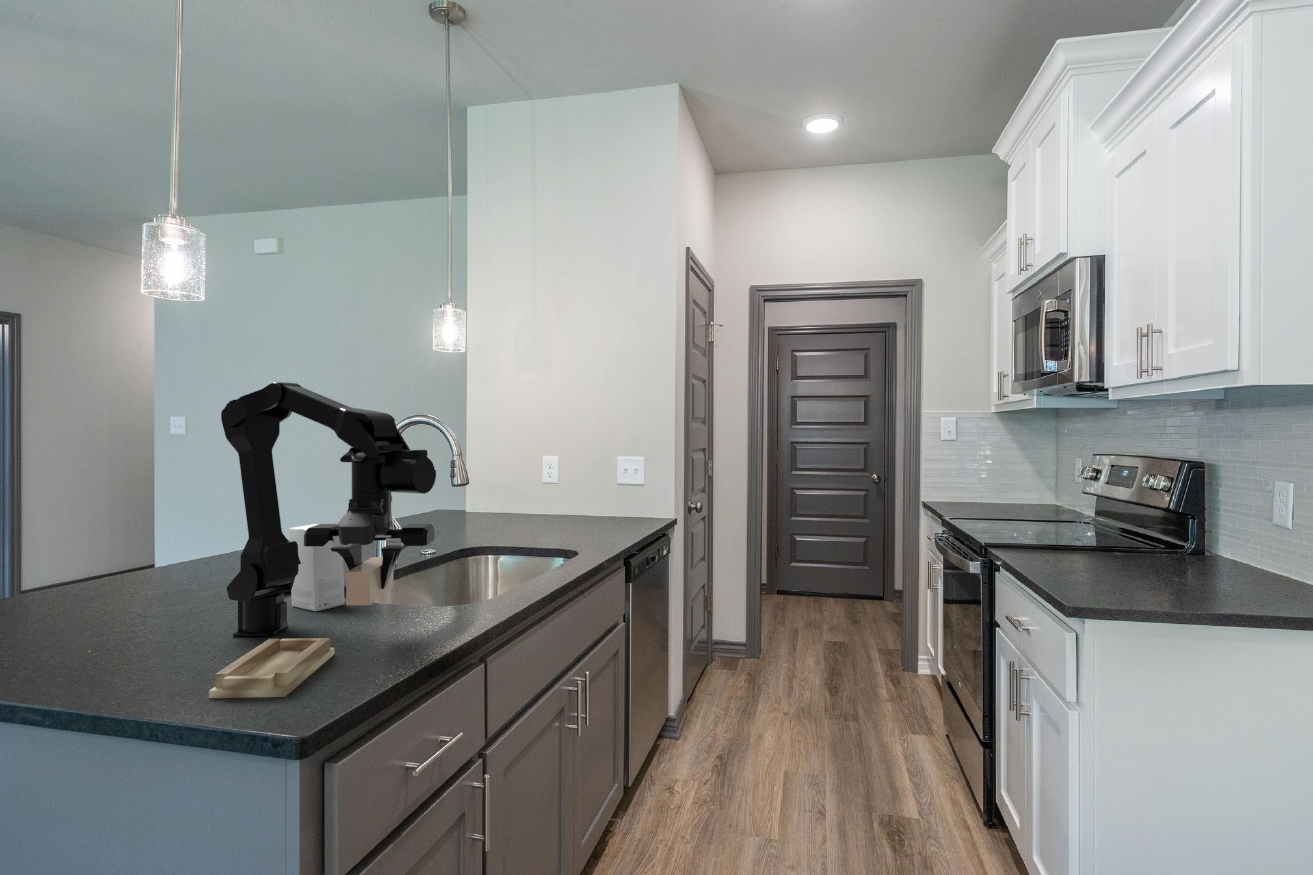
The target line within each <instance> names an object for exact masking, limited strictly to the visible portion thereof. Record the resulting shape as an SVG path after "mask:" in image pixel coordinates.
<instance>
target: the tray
mask: <svg viewBox="0 0 1313 875" xmlns="http://www.w3.org/2000/svg"><path fill="white" fill-rule="evenodd" d="M335 654H336V652H335V647H331V637H320V638H319V637H318V638H317V637H313V638H312V637H311V638H307V637H306V638H305V637H304V638H300V637H299V638H268V639H267V640H265V641H264V642H263V643H261V644H259V645H258V646H256V647H254V648H253V649H251V650H250V651H248V652H246V653H245V654H244V655H242V656H241V657H239V658H238V659H236V660H234V661H233V662H231V663H229V665H226V666H225V667H224V668H222V669H220V670H219V671H218V672H216V673H214V674H215V675H214V681H215V682H214V687H212V688H211V689H209V690H208V698H209V699H228V698H229V699H238V698H239V699H240V698H241V699H242V698H243V699H244V698H245V699H246V698H278V697H279V698H286V697H287V696H288V695H289V694H290V693H291V692H292V691H293V690H295V689H296V688H298V686H300V684H302V683H303V682H304V681H305V680H307V679H308V678H309V677H310V676H312V674H313V673H315V672H316V671H317V670H318V669H319V668H320V667H322V665H324V664H325V663H326V662H327V661H329V659H331V658H332V657H333V656H334V655H335Z"/></svg>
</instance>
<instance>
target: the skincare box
mask: <svg viewBox="0 0 1313 875" xmlns="http://www.w3.org/2000/svg"><path fill="white" fill-rule="evenodd" d="M318 524H319V523H314V524H307V525H302V526H294V527H289V528H288V535H289V537H288V538H289V539H288V540H289V542H292V541H296V542H297V544H298V556H299V559H300V562H301V564H299V565H298V566H299V571H298V575H296V577H295V580H294V583H293V587H292V590H291V591H290V593H291V594H290V595H291V606H292V607H296V608H299V609H303V610H308V611H312V612H319V611H325V610H328V609H332V608H337V607H341V606H343V605H345V603H346V600H345V577H344V575H345V574H344V559H343V558H342V556H341V555H340V554H339V553H337V552H332V551H331V548H332V547H333V541H329V542H328V543H327V544H326V545H325V546H304V534H305V531H306V530H307V529H308V528H310V527H313V526H315V525H318Z"/></svg>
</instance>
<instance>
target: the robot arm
mask: <svg viewBox="0 0 1313 875" xmlns="http://www.w3.org/2000/svg"><path fill="white" fill-rule="evenodd" d="M292 413H295V414H297V415H299V416H301V417H304V418H306V419H308V420H311V421H314V422H315V423H317V424H320V425H322V426H324V427H326V428H329V429H331V430H332V431H333V432H334V433H335V434H336V436H337V438H338V439H340V440H341V441H343V443H345V444H347V446H349V447H350V448H349V450H348V451H347V452H346V453H345V454H343V455H342V456H341V457H340V458H339V460H340V463H351V498H350V499H349V500H348V508H347V511H346V513H344V515H343V516H342V518H341V519H340V520H339V522H337V523H317V524H318V525H315V526H313V527H310V528H308V529H307V530H306V531H305V534H304V546H325V545H326V544H327V543H328V542H329V541H333V547H332V548H331V551H332V552H337V553H339V554H340V555H341V556H342V558H343V562H345V564H346V566H347V569H348V571H350V570H351V569H353V568H355V567H356V566H358V565H360V564H361V563H363V560H362V559H363V558H362V556H363V555H362V553H363V552H362V550H363V547H362V546H368V545H370V544H373V542H374V541H385V543H386V545H385V546H383V547H381V549H380V551H381V555H382V556H381V557H383V560H382V572H381V589H385V588H386V585H387V583H388V580H389V577H390V575H391V572H392V570H393V567H394V566H395V565H396V562H397V560H398V558H399V556H400V555H401V552H402V551H404V549H405V550H406V548H408V547H425V546H428V545H429V544H431V543H432V542H434V541H435V538H436V537H435V532H436V531H435V527H434V526H433V525H432V523H408V524H407V525H404V526H403V527H402V528H392V527H393V521H392V520H391V503H392V502H393V496H392V495H391V493H403V494H405V493H406V494H422V495H423V494H427V493H429V492H430V491H431V490H432V489H433V488H434V485H435V483H436V478H437V470H436V469H435V465H434V463H433V461H432V459H430V458H429V457H428V450H427V449H412V450H411V448H410V447H409V445H408V444H407V442H406V441H405V439H404V437H403V435H402V433H401V432H400V431H399V429H398V427H397V424H396V419H395V417H393V415H391V414H390V413H386V412H382V411H376V410H370V409H362V408H356V407H350V406H349V405H346V404H343V403H341V402H339V401H337V400H334V399H331V398H329V397H327V396H324V395H322V394H320V393H316V392H315V391H312V390H310V389H308V388H305V387H303V386H301V384H299V383H297V382H296V383H295V382H290V381H289V382H288V381H274V382H271V383H269V384H267V385H266V386H264V387H263V388H261V389H258V390H255V391H252V392H250V393H247V394H245V395H241V396H239V398H237V399H232V400H229V402H227V403H226V405H225V406H224V408H222V410H221V413H220V418H221V419H220V420H221V424H222V428H223V430H224V431H223V432H224V437H225V438H226V440H227V441H228V443H229V444H230V445H231V447H233V449H234V450H235V451H236V453H237V455H238V460H239V468H240V470H239V471H240V477H241V484H242V486H241V487H242V493H243V500H244V501H243V502H244V508H245V517H246V525H247V532H248V539H247V541H246V544H244V548H243V550H242V551H241V553H240V554H241V555H240V561H239V562H240V570H239V572H238V573H237V574H236V576H235V577H233V579H232V580H231V582H229V584H228V585H227V586H226V592H227V595H228V596H227V597H228V600H230V601H236V602H237V630H235V631H234V632H232V634H231V635H232V637H270V636H274V635H276V634H277V633H279V632H280V631H282V630H283V629H285V628H287V627H288V626H289V622H288V602H287V601H285V592H291V590H292V587H293V583H294V580H295V577H296V575H298V571H299V566H298V565H299V564H301V562H300V559H299V556H298V544H297V542H296V541H292V542H290V540H289V539H288V538H287V537H286V535H285V534H284V533H283V528H282V522H281V520H282V519H281V515H280V514H281V513H280V506H279V497H278V491H277V490H278V488H277V480H276V473H275V465H274V458H273V457H274V456H273V449H274V446H275V444H276V442H277V440H278V438H279V436H280V433H281V431H280V430H281V429H280V426H281V425H280V424H281V422H283V421H285V420H286V419H288V418H290V417H291V416H292Z"/></svg>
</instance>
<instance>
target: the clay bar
mask: <svg viewBox="0 0 1313 875" xmlns="http://www.w3.org/2000/svg"><path fill="white" fill-rule="evenodd" d="M382 560H383V556H380V557H378V556H373V557H370V558H368V559H367V560H365V561H364V562H363V561H362V563H361V564H360V565H358V566H356V567H355V568H353V569H351V570H350V571H349V570H348V571H346V573H345V576H346V578H345V579H346V580H345V582H346V583H345V585H346V586H345V587H346V588H345V590H346V592H345V593H346V594H345V597H346V599H345V603H346V604H345V606H371V605H372V604H373V603H374V602H376V601H377V600H379V599H380V598H381V597H382V596H384V595H385V594H386V593H388V592H389V591H390V590H391V589H392V588H394V579H395V578H394V567H393V570H392V572H391V575H390V577H389V580H388V583H387V585H386V588H385V589H381V572H382Z"/></svg>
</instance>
